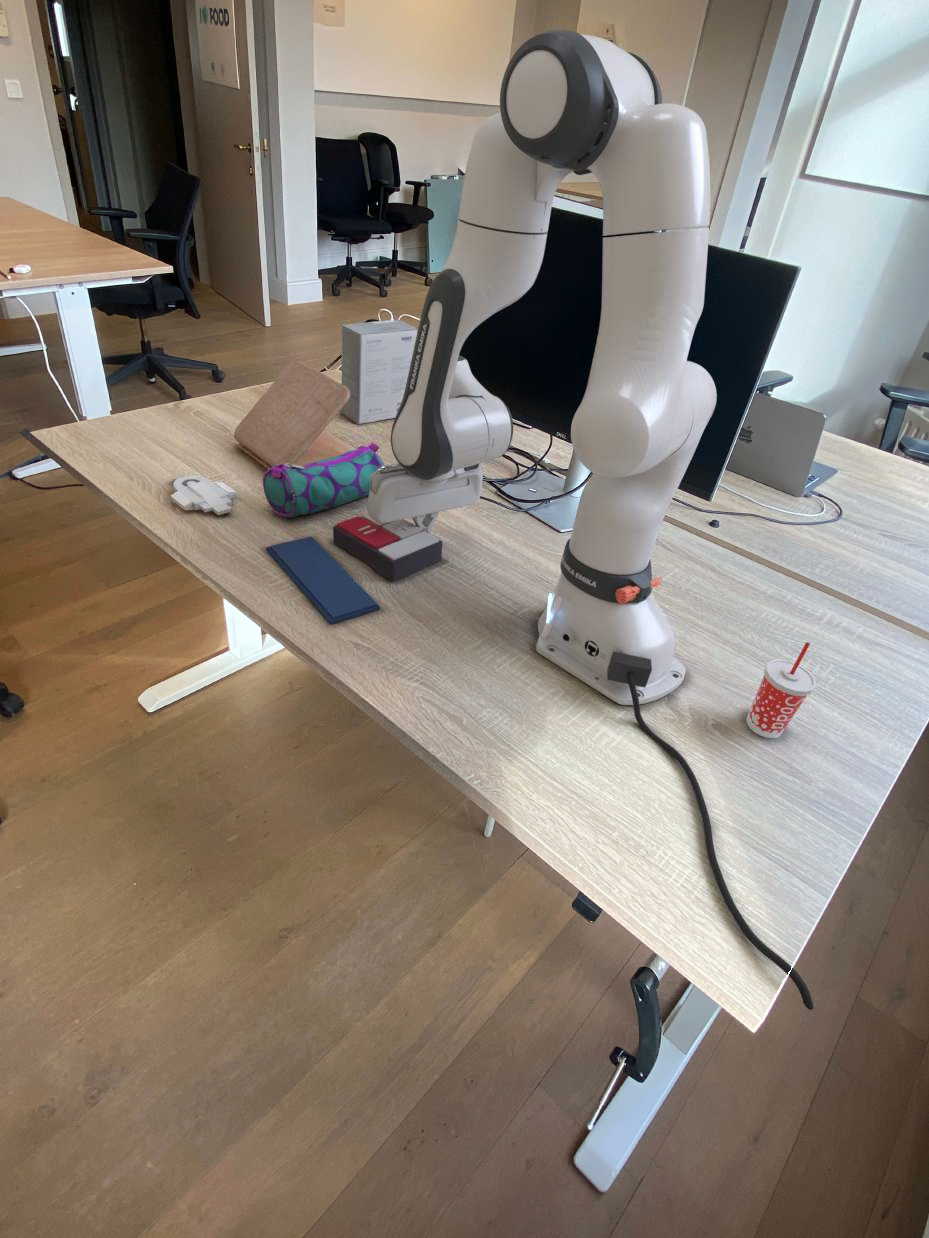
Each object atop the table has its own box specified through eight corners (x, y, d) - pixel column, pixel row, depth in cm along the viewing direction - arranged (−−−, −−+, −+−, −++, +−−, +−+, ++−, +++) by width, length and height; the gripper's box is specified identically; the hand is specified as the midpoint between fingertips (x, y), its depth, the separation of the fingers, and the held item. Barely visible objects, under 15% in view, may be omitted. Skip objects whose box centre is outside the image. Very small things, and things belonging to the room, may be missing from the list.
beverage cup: (743, 736, 90) (787, 653, 81) (737, 705, 94) (777, 623, 86) (791, 747, 89) (840, 664, 81) (782, 714, 94) (827, 633, 86)
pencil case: (291, 530, 117) (290, 477, 111) (262, 508, 121) (260, 456, 116) (387, 500, 130) (390, 451, 124) (358, 481, 134) (359, 434, 128)
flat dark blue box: (379, 609, 102) (380, 604, 101) (330, 624, 98) (330, 619, 97) (311, 539, 115) (311, 534, 115) (265, 549, 111) (265, 545, 110)
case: (230, 446, 140) (223, 365, 130) (319, 429, 152) (320, 354, 142) (283, 487, 128) (280, 402, 119) (375, 465, 141) (379, 387, 131)
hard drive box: (394, 405, 170) (400, 319, 158) (413, 416, 165) (420, 328, 154) (339, 413, 161) (341, 323, 149) (357, 425, 157) (360, 333, 145)
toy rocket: (251, 509, 120) (250, 497, 119) (199, 525, 114) (197, 512, 113) (202, 475, 128) (200, 463, 127) (151, 487, 122) (149, 475, 121)
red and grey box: (382, 504, 120) (444, 537, 112) (382, 526, 122) (442, 560, 114) (331, 522, 113) (393, 558, 105) (332, 545, 115) (392, 582, 108)
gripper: (382, 476, 102) (377, 556, 110) (492, 457, 112) (480, 531, 121) (361, 459, 106) (358, 537, 114) (470, 442, 116) (460, 514, 125)
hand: (422, 534), depth 117 cm, fingers closed
